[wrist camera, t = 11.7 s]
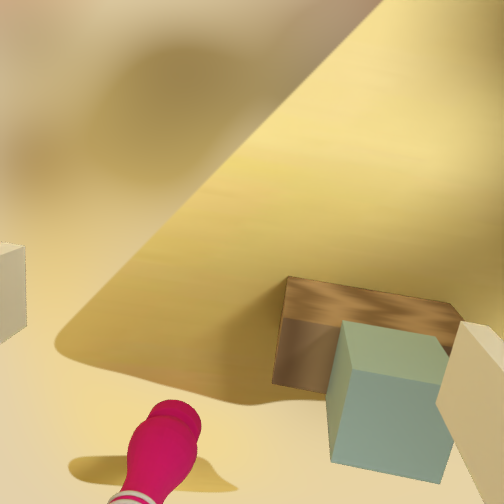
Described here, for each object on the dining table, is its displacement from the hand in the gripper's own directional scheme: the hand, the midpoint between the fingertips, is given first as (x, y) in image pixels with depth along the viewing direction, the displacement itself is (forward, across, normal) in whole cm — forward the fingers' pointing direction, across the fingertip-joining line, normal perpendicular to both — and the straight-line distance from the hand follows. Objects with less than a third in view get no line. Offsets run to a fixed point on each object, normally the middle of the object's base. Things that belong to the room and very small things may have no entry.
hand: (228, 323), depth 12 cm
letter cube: (+19, +10, -11) cm, 24 cm away
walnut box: (+29, +10, -11) cm, 32 cm away
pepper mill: (+29, -8, -28) cm, 41 cm away
